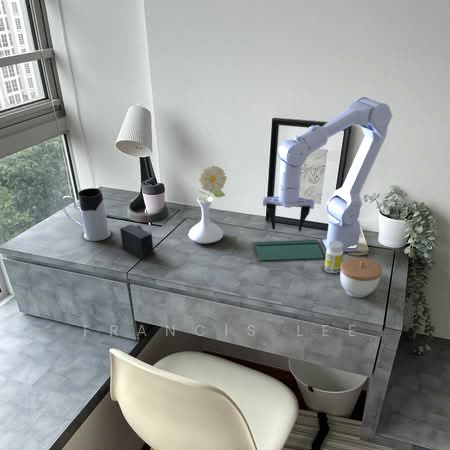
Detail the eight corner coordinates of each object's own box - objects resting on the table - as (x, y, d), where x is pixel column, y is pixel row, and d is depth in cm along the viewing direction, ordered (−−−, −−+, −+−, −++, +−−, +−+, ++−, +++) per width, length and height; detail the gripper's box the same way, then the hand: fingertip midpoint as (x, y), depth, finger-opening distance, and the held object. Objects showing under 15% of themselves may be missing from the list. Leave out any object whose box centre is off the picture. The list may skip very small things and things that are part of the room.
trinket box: (332, 281, 137) (336, 252, 132) (369, 279, 138) (375, 250, 132) (343, 303, 128) (348, 273, 123) (383, 301, 129) (389, 271, 124)
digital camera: (157, 252, 152) (155, 232, 148) (143, 258, 149) (141, 238, 145) (136, 242, 158) (133, 222, 154) (122, 247, 155) (120, 228, 151)
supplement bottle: (341, 266, 144) (345, 241, 139) (339, 274, 140) (343, 249, 135) (325, 264, 145) (328, 239, 140) (322, 272, 142) (326, 246, 137)
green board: (316, 241, 157) (316, 239, 157) (324, 258, 148) (324, 256, 148) (255, 243, 157) (255, 241, 156) (259, 261, 147) (259, 259, 147)
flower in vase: (183, 243, 157) (178, 168, 143) (197, 228, 166) (194, 156, 152) (220, 250, 153) (219, 173, 139) (233, 235, 162) (233, 161, 147)
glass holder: (107, 240, 159) (100, 197, 150) (64, 240, 159) (54, 197, 151) (112, 229, 166) (106, 187, 158) (71, 229, 166) (63, 187, 158)
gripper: (262, 188, 133) (260, 233, 141) (315, 191, 131) (311, 236, 139) (265, 179, 139) (263, 222, 147) (316, 182, 137) (311, 226, 145)
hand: (286, 229), depth 143 cm, fingers open, 7 cm apart
